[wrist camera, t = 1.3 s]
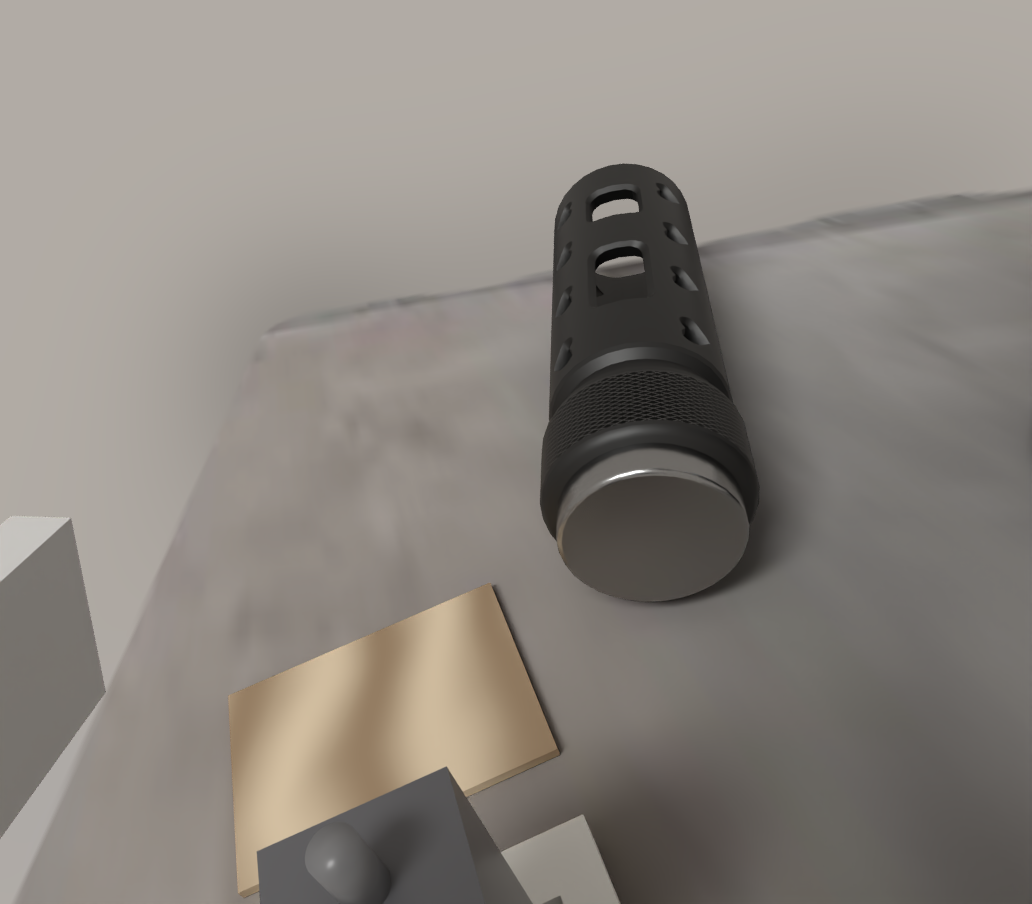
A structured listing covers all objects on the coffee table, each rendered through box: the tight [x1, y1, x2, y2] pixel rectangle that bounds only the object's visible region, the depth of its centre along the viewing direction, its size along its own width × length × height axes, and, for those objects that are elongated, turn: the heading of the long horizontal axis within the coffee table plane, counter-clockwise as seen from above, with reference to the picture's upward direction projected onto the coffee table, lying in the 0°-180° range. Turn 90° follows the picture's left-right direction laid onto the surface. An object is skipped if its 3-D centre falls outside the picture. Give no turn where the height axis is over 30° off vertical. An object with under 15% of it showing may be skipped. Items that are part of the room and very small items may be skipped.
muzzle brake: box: [540, 164, 759, 602], centre depth 46 cm, size 10×28×10 cm, turn 178°
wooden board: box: [228, 583, 560, 898], centre depth 38 cm, size 14×10×1 cm
